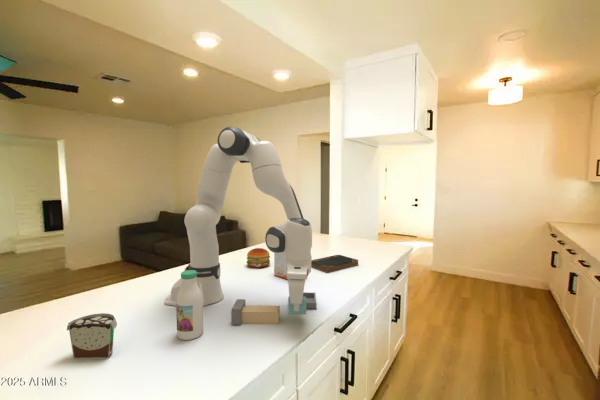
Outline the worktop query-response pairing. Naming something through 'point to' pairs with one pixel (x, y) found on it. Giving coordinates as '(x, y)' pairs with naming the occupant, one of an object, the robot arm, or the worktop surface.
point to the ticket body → (254, 313)
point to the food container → (92, 336)
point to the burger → (258, 258)
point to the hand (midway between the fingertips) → (297, 305)
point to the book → (333, 263)
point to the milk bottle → (189, 307)
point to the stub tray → (310, 300)
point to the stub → (301, 307)
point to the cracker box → (280, 265)
